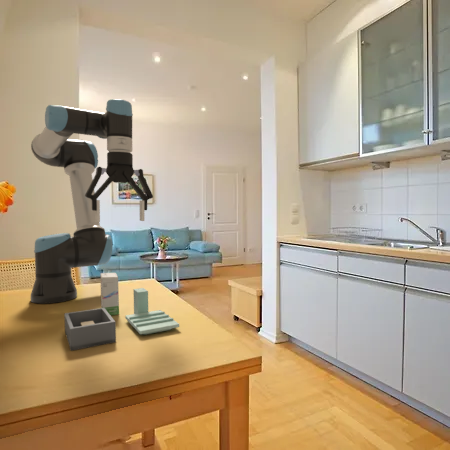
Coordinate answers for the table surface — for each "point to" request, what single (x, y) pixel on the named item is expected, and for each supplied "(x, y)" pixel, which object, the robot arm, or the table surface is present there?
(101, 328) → the tub
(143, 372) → the table surface
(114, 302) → the ink box
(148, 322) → the lid
